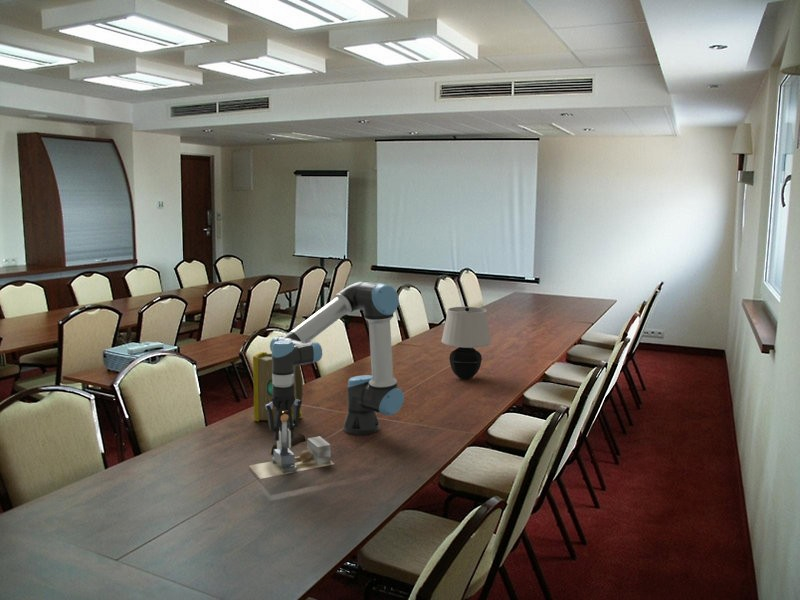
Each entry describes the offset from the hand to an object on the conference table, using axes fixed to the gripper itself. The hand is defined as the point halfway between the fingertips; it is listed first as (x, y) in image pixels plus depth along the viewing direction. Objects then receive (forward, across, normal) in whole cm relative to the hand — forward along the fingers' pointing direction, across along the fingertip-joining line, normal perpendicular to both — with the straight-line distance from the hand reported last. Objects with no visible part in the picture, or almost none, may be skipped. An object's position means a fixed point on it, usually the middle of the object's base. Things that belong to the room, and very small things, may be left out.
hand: (283, 447), depth 240 cm
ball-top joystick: (+7, 0, 0) cm, 7 cm away
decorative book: (+9, -17, -54) cm, 57 cm away
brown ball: (+7, -8, 0) cm, 11 cm away
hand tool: (+9, -8, -18) cm, 22 cm away
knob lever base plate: (+9, -3, 0) cm, 9 cm away
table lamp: (+9, -131, -72) cm, 150 cm away
